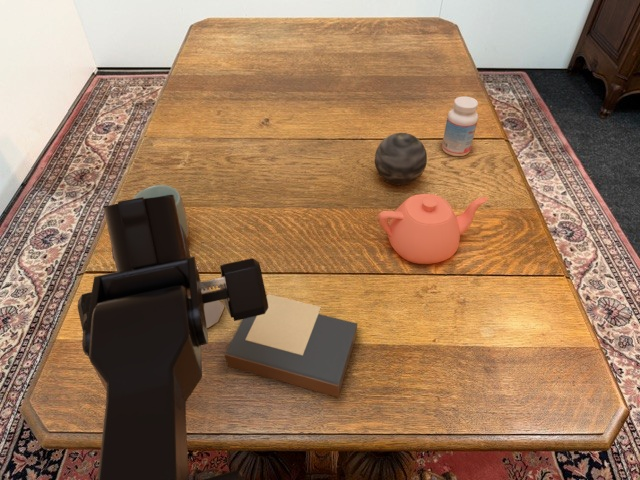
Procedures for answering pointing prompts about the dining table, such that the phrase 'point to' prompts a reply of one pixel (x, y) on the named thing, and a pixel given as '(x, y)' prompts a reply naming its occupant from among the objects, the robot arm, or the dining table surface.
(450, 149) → the pill bottle
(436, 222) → the teapot
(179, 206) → the cup
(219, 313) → the octagonal bud vase
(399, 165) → the decorative stone
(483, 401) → the dining table surface
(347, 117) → the dining table surface
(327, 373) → the grey and beige box
